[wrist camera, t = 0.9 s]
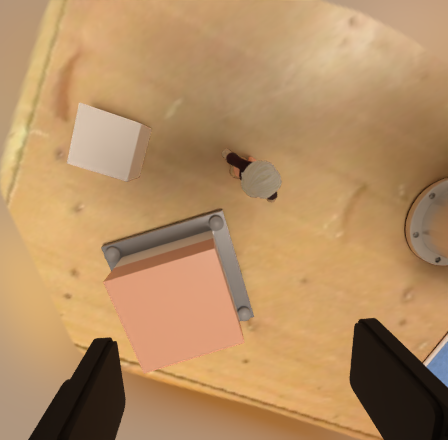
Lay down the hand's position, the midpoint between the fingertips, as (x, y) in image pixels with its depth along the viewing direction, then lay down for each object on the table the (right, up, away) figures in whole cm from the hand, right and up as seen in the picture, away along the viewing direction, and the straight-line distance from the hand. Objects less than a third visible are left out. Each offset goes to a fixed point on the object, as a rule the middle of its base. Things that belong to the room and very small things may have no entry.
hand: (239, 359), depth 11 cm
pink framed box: (-6, -3, +27) cm, 28 cm away
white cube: (-13, +14, +22) cm, 30 cm away
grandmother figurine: (+2, +12, +24) cm, 27 cm away
